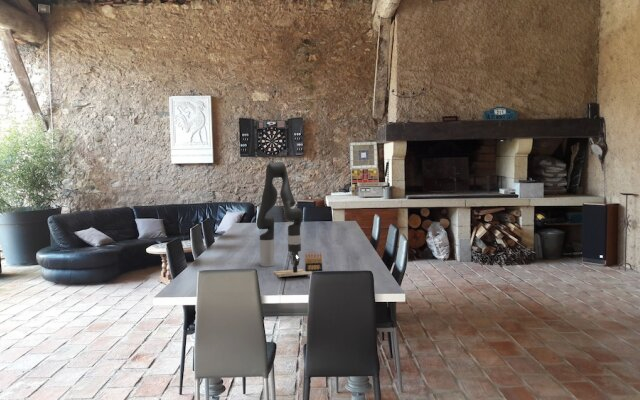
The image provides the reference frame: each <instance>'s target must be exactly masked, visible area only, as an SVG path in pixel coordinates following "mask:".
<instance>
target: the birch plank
mask: <svg viewBox="0 0 640 400" xmlns="http://www.w3.org/2000/svg"><path fill="white" fill-rule="evenodd" d="M311 273H312V274H313V271H308V272H297V273H285V274H279V275H278V277H277V278H286V277H298V276H308V275H312V274H311Z"/></svg>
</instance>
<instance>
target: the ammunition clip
mask: <svg viewBox="0 0 640 400" xmlns="http://www.w3.org/2000/svg"><path fill="white" fill-rule="evenodd" d="M322 256H323V255H322V252H321V251H320V252H318V251H317V252H316V251H314V253H313V252H311V253H310V252H308V253H307V251H306V252H305V258H304V264H305V265H304V271H306V272H308V271H312V272H323V257H322Z"/></svg>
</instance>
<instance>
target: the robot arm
mask: <svg viewBox="0 0 640 400" xmlns="http://www.w3.org/2000/svg"><path fill="white" fill-rule="evenodd" d="M275 178H276V179H278V178H281V180H282V183H281V184H282V185H281V188H280V193H279V194H280V199H281V202H282V204H283V215H284V218H285V220H286V221H287V222H293V223H292V224H290V225H288V227H287V251H288V252H290V256H289V259H290V262H291V264H290V265H292V270H293V272H294V273H297V269H298V266H299V265H300V261H301V258H300V255H299V252H301V250H302V237H301V226H302V225H301V224H302V221H303V215H304V214H303V211H302V209H301V208H297V207H296V208H292V207H294V206H295V205H296V200H295V197H294V195H293V193H292V189H291V186H290V180H289V175H288V171H287V167H286V165H285V163H284V162H283V161H277V162H270V163H268V164H267V166H266V168H265V178H264V181H265V182H264V188H263V192H262V196H261V204H260V208H259V211H258V215H257V218H256V226H257V229H259V230H266V232H264V233H262V234H260V235H259V258H260V260H259V261H260V267H273V266H275V218H274V215H273V214H268V212H269V211H271V209H273V207H274V206H275V205H276V204H277V200H278V195H279V194H278V191H277V189H276V187H275V186H274V184H273V180H274V179H275Z"/></svg>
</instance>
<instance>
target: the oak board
mask: <svg viewBox="0 0 640 400" xmlns="http://www.w3.org/2000/svg"><path fill="white" fill-rule="evenodd" d="M297 272H306V271H305V269H303V268H297ZM285 273H294V272H293V269H288V270H279V271H278V270H276V271H273V275H274V276H275V277H276V278H279V277H278V275H279V274H285Z"/></svg>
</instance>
